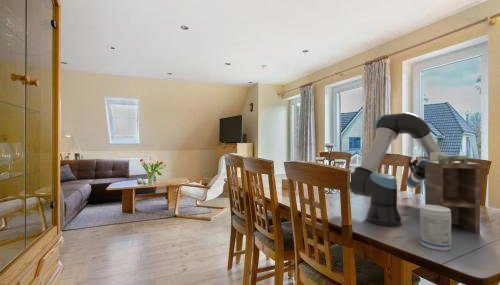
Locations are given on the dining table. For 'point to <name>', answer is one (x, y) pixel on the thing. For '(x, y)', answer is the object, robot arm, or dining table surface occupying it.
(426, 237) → the supplement tub
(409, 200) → the dining table surface
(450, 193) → the shelf
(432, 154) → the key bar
